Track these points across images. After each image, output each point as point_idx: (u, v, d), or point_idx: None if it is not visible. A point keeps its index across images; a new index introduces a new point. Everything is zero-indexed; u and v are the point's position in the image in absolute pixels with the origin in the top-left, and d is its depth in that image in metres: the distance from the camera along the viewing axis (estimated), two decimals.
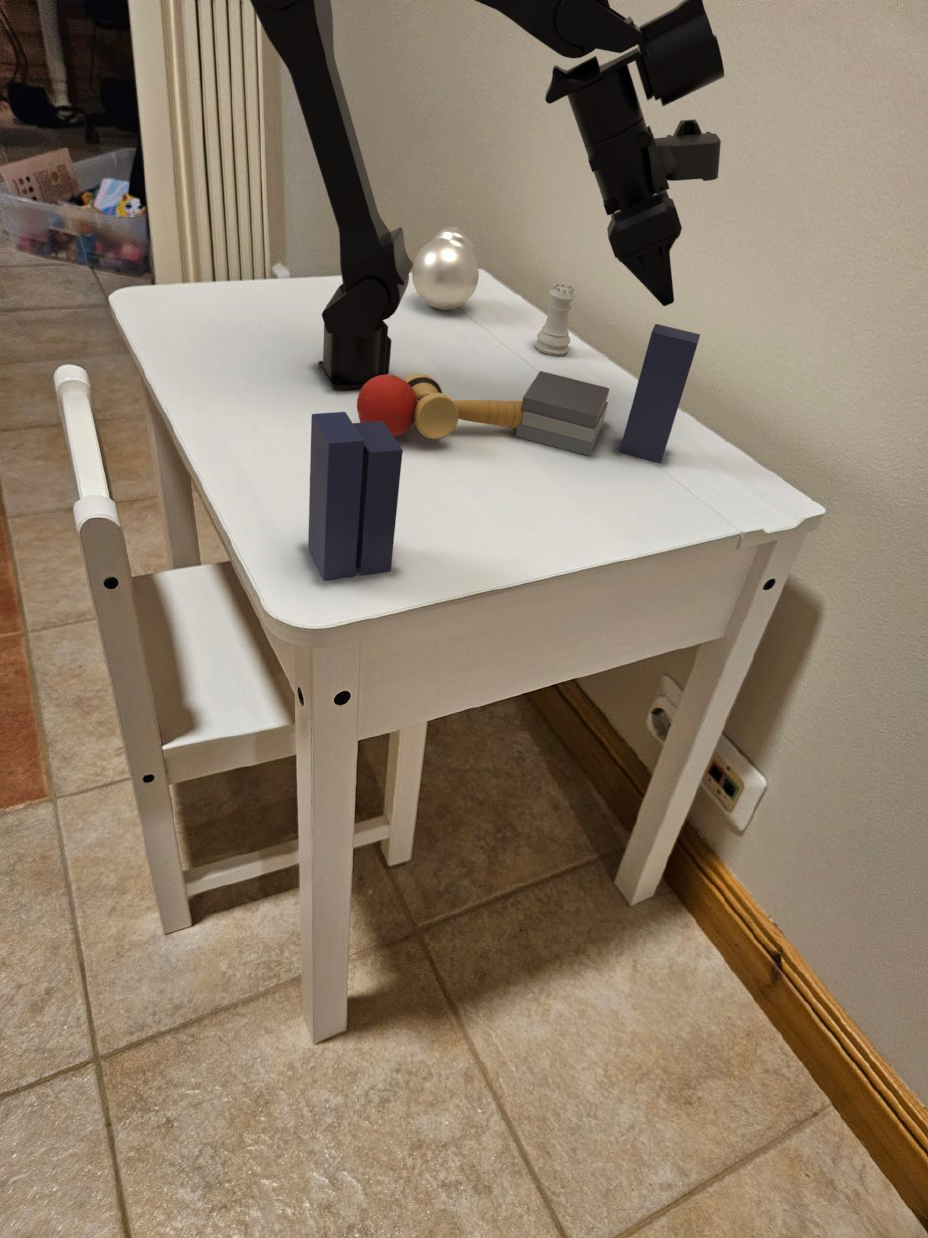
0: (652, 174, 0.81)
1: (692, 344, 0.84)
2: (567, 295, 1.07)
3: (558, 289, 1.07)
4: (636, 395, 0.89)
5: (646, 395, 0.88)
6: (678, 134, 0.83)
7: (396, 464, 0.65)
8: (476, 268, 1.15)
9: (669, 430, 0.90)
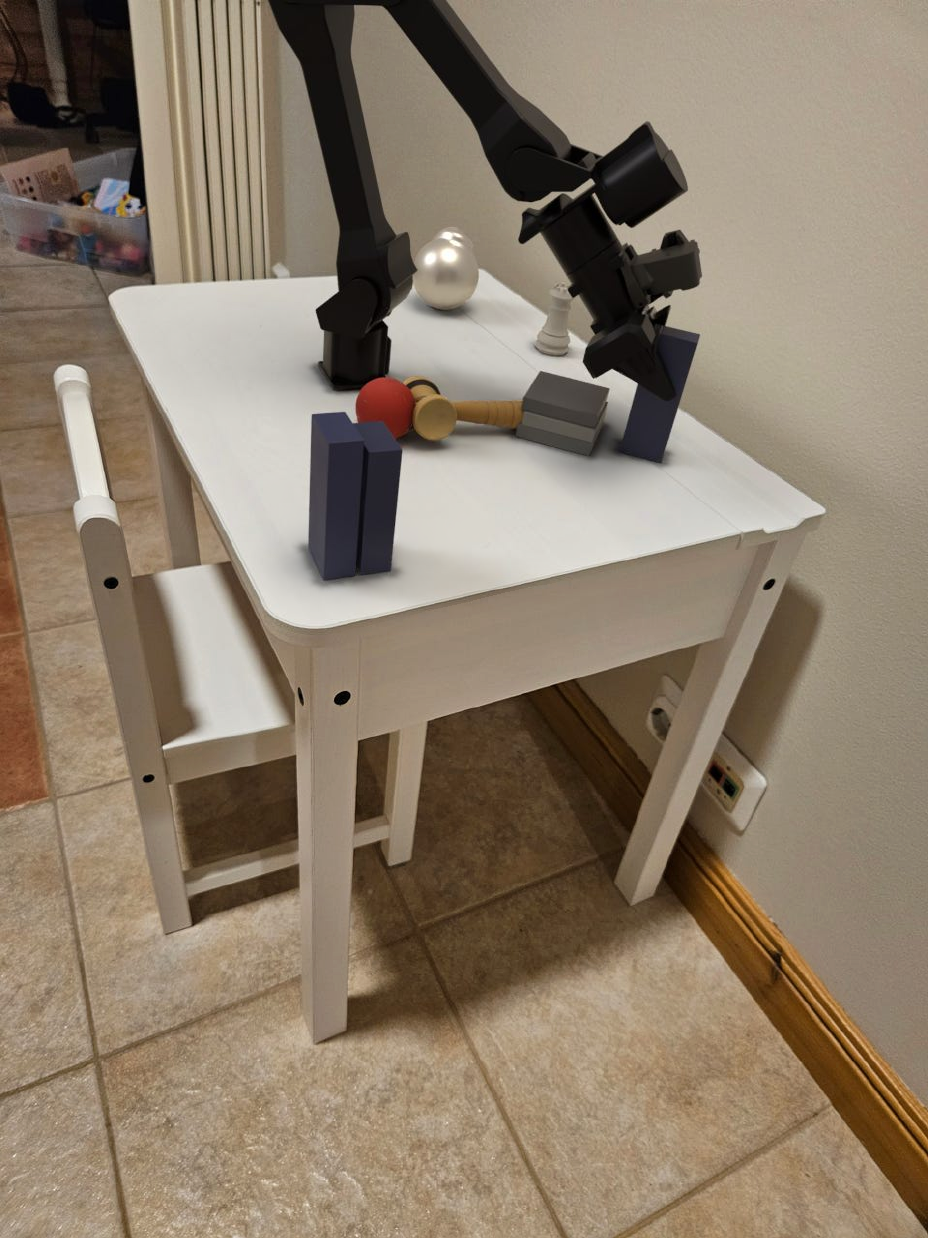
0: (629, 292, 0.82)
1: (692, 344, 0.84)
2: (567, 295, 1.07)
3: (558, 289, 1.07)
4: (636, 395, 0.89)
5: (646, 395, 0.88)
6: (661, 247, 0.84)
7: (396, 464, 0.65)
8: (476, 268, 1.15)
9: (669, 430, 0.90)
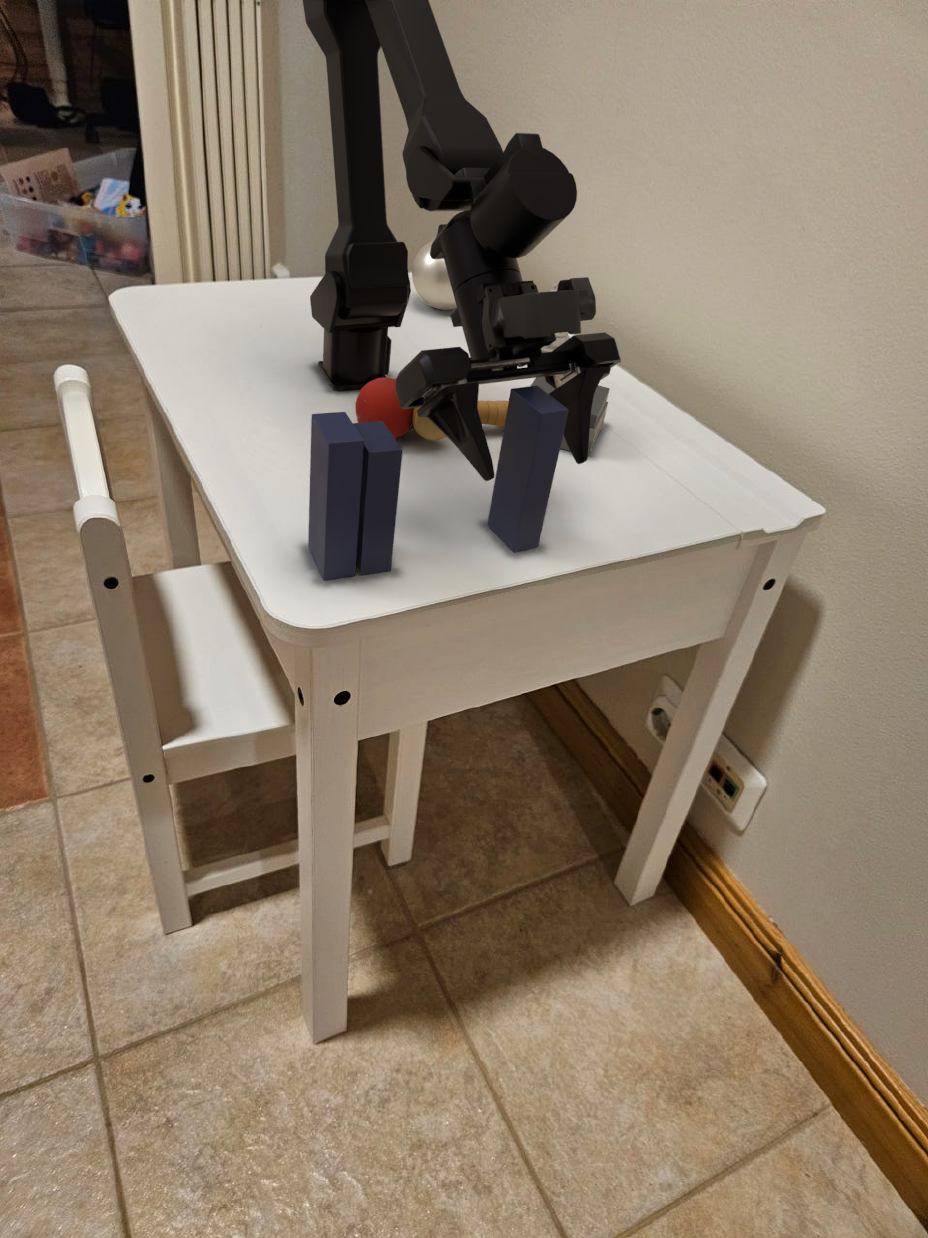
0: (483, 329, 0.69)
1: (537, 413, 0.68)
2: None
3: None
4: (498, 462, 0.74)
5: (505, 465, 0.73)
6: None
7: (396, 464, 0.65)
8: None
9: (520, 515, 0.73)
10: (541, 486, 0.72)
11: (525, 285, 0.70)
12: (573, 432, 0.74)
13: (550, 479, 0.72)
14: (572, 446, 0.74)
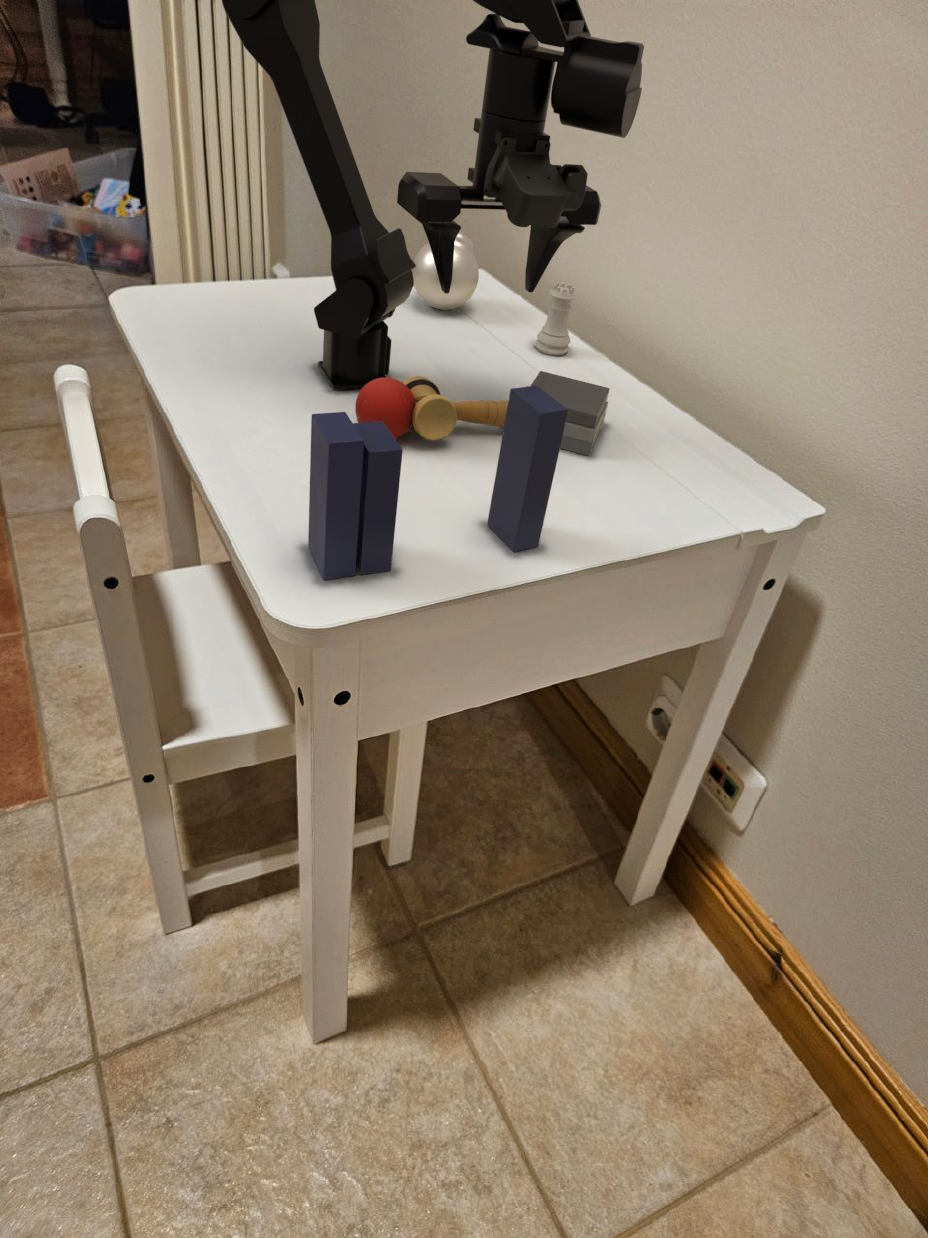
0: (487, 172, 0.78)
1: (537, 413, 0.68)
2: (567, 295, 1.07)
3: (558, 289, 1.07)
4: (498, 461, 0.74)
5: (505, 465, 0.73)
6: (559, 171, 0.77)
7: (396, 464, 0.65)
8: (476, 268, 1.15)
9: (520, 515, 0.73)
10: (541, 486, 0.72)
11: (540, 142, 0.77)
12: (532, 264, 0.88)
13: (550, 479, 0.72)
14: (527, 273, 0.89)
